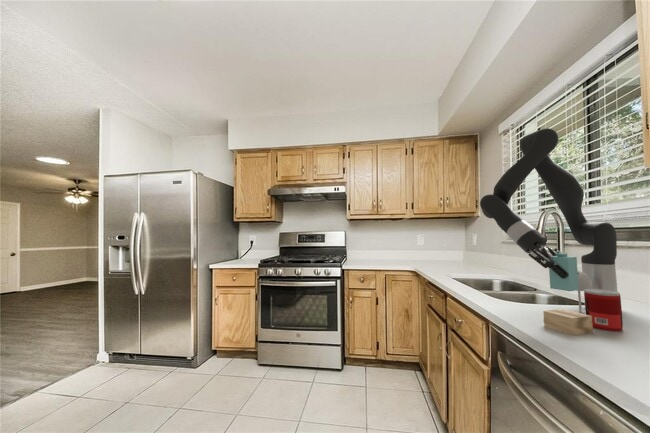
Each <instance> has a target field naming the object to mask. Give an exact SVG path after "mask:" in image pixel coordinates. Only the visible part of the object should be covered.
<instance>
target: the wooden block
mask: <svg viewBox="0 0 650 433" xmlns="http://www.w3.org/2000/svg"><path fill="white" fill-rule="evenodd" d="M542 313H543V326H544V327H545V328H549V329H552V330H555V331H559V332H561V333H565V334H567V335H570V336H577V335H585V334H592V333H594V328H593V325H592V316H590V315H586V313H583V312H582V313H580V312H577V311H572V310H569V309H565V308H558V309H557V308H556V309H548V310H543V312H542Z"/></svg>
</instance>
